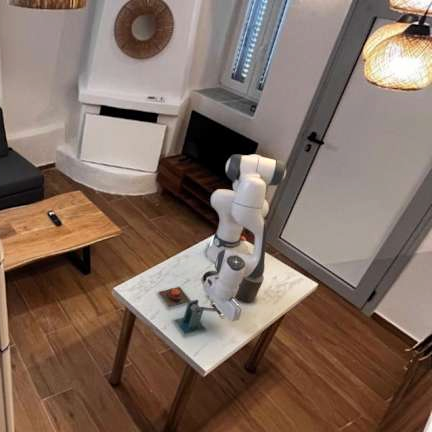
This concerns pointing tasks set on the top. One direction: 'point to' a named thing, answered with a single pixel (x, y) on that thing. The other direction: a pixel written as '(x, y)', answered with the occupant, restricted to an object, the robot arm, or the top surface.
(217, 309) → the lever
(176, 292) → the button
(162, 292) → the control block
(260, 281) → the pillar candle
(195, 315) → the bracket
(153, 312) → the top surface
